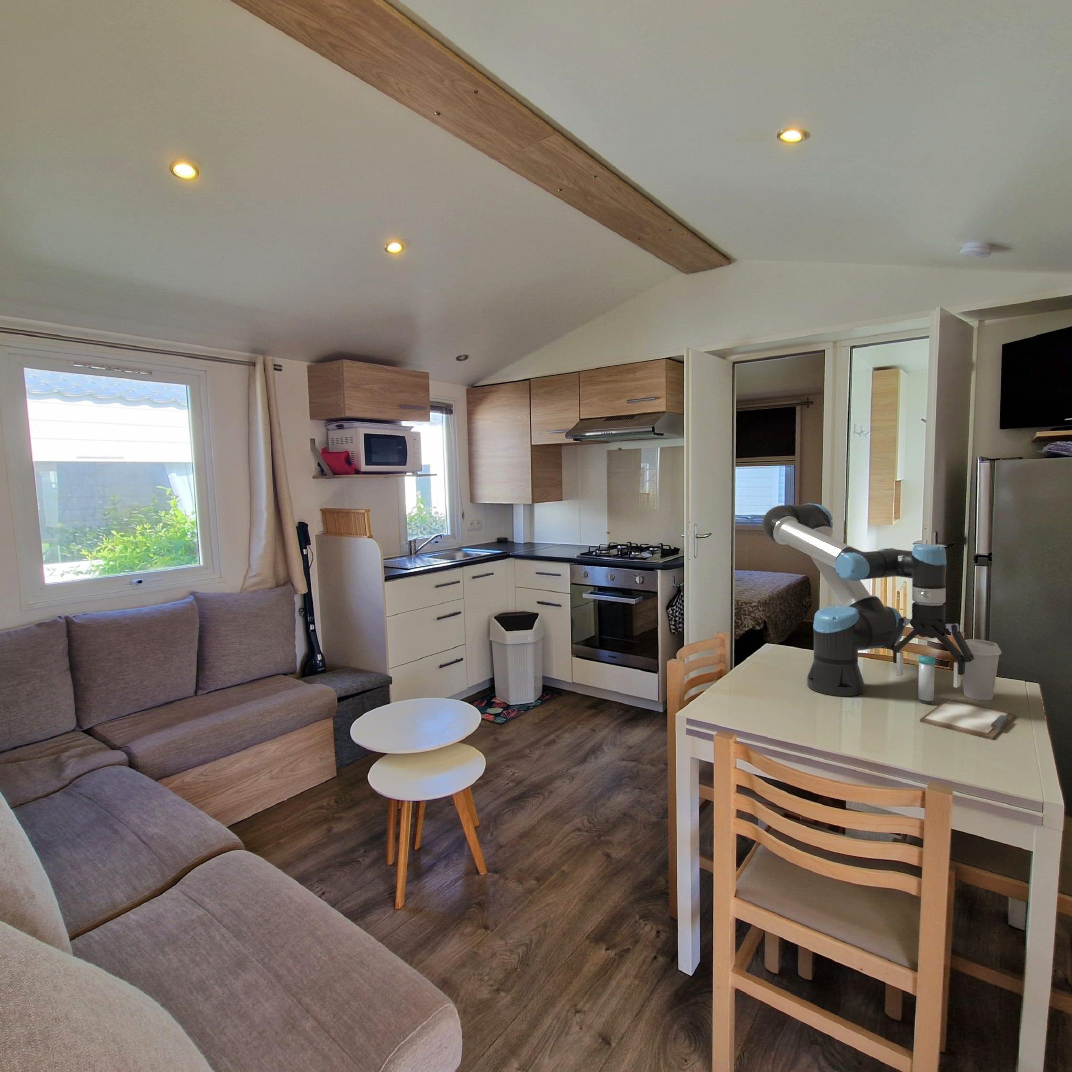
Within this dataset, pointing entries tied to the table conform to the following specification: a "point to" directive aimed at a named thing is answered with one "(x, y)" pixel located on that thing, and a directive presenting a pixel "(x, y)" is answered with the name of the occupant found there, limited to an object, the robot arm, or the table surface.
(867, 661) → the table surface
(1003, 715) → the clipboard
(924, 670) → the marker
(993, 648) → the coffee cup
